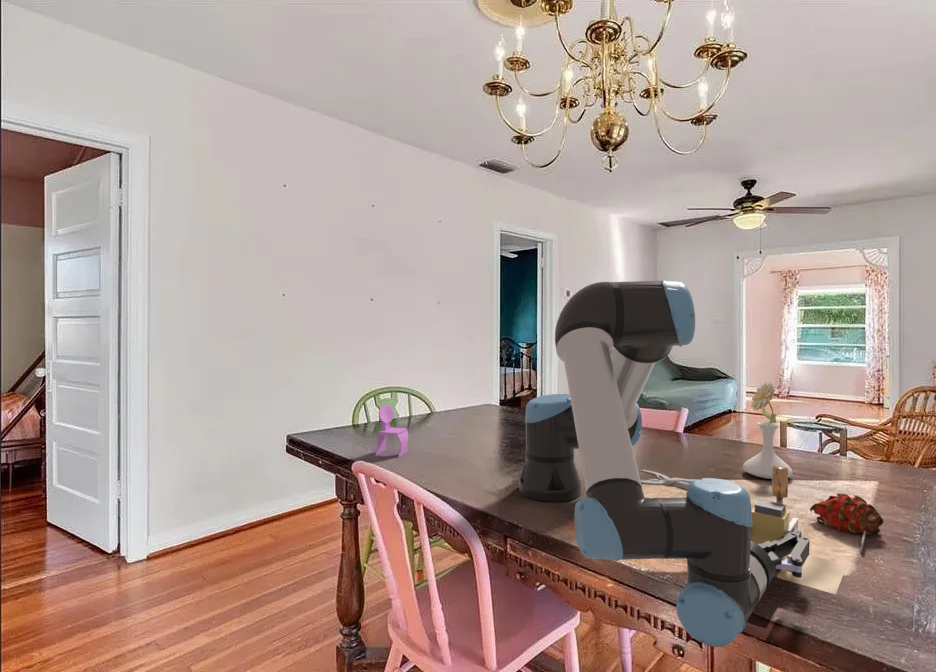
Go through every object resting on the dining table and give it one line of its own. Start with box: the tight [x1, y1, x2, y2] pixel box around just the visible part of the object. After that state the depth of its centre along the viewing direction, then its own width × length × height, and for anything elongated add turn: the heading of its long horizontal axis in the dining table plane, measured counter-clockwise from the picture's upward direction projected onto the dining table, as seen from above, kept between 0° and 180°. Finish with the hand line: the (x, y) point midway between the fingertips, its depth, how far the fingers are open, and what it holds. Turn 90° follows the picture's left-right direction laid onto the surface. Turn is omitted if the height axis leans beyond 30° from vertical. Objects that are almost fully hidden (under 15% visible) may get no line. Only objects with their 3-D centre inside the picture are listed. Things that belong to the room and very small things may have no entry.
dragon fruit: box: [809, 492, 884, 536], centre depth 105 cm, size 8×8×12 cm
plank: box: [773, 553, 847, 596], centre depth 97 cm, size 32×12×1 cm, turn 48°
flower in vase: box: [742, 382, 794, 480], centre depth 138 cm, size 13×11×25 cm
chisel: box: [771, 466, 789, 504], centre depth 96 cm, size 2×2×15 cm
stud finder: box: [751, 499, 790, 572], centre depth 91 cm, size 5×4×10 cm
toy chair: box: [374, 404, 409, 458], centre depth 166 cm, size 8×9×15 cm
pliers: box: [640, 469, 694, 490], centre depth 137 cm, size 10×2×15 cm
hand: (776, 521), depth 95 cm, fingers closed on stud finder, 5 cm apart
